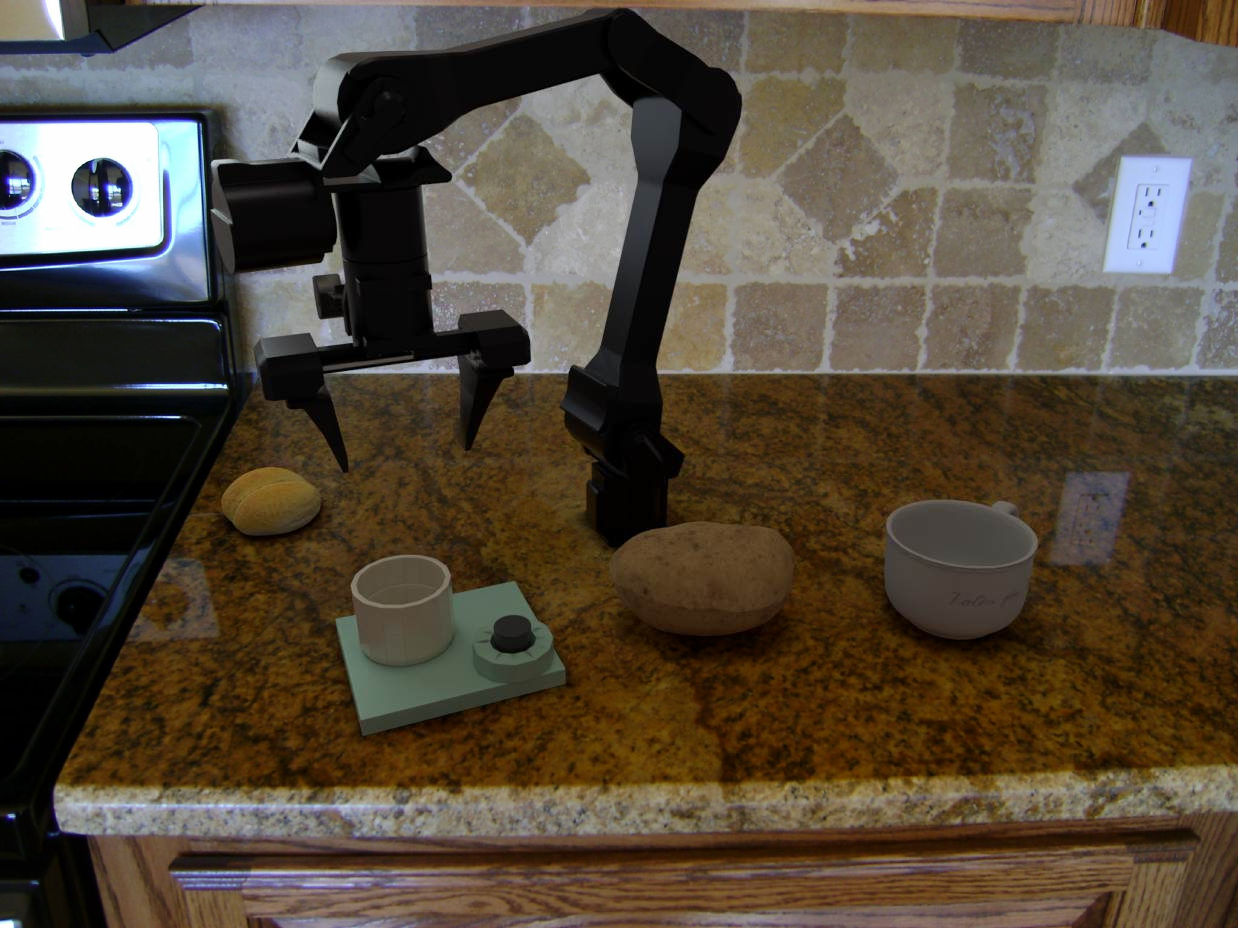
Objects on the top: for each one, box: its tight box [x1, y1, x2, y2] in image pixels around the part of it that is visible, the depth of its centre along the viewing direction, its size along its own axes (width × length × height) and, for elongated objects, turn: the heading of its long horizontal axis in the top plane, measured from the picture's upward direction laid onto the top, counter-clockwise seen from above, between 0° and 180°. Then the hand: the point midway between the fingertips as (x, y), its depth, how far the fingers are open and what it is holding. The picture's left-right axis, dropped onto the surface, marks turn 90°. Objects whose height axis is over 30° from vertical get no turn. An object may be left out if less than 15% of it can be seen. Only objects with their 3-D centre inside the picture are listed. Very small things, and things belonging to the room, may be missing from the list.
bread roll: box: [221, 466, 322, 537], centre depth 86 cm, size 8×9×4 cm
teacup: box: [883, 499, 1039, 641], centre depth 72 cm, size 14×11×8 cm
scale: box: [335, 580, 567, 737], centre depth 67 cm, size 14×12×3 cm
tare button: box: [493, 615, 532, 654], centre depth 65 cm, size 3×3×2 cm
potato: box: [608, 520, 796, 637], centre depth 70 cm, size 10×14×8 cm
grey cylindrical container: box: [350, 554, 455, 666], centre depth 67 cm, size 7×7×5 cm
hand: (407, 459), depth 71 cm, fingers open, 9 cm apart
